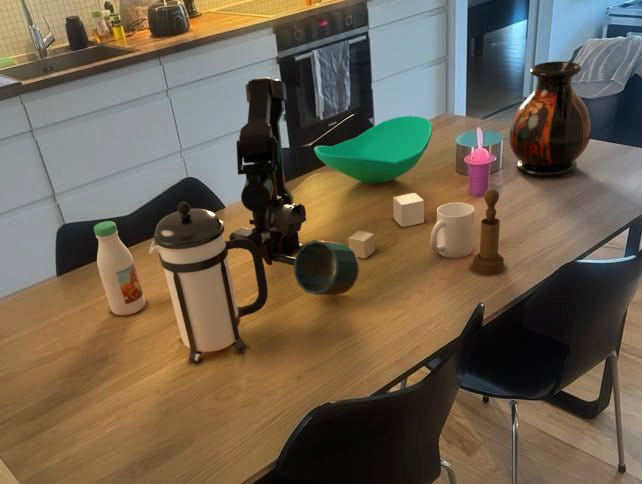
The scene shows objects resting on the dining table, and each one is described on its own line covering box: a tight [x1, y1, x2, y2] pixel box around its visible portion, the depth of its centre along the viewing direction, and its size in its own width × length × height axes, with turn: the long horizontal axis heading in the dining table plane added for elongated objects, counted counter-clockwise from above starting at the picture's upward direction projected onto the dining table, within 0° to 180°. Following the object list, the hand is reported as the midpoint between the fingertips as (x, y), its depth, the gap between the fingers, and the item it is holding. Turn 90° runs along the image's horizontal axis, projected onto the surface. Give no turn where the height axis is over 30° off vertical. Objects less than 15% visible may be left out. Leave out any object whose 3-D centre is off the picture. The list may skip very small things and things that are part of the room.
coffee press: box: [148, 201, 269, 364], centre depth 129 cm, size 17×16×30 cm
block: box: [347, 230, 376, 259], centre depth 163 cm, size 4×4×4 cm
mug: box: [429, 202, 475, 259], centre depth 156 cm, size 12×8×10 cm
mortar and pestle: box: [472, 188, 505, 275], centre depth 146 cm, size 7×6×18 cm
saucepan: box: [262, 239, 360, 296], centre depth 147 cm, size 11×22×8 cm
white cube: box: [392, 192, 425, 228], centre depth 175 cm, size 6×6×6 cm
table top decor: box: [313, 115, 433, 185], centre depth 200 cm, size 40×28×13 cm
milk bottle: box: [93, 220, 146, 316], centre depth 148 cm, size 8×8×20 cm
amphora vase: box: [508, 61, 592, 180], centre depth 187 cm, size 22×22×28 cm
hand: (272, 263), depth 150 cm, fingers closed, pressing on saucepan
